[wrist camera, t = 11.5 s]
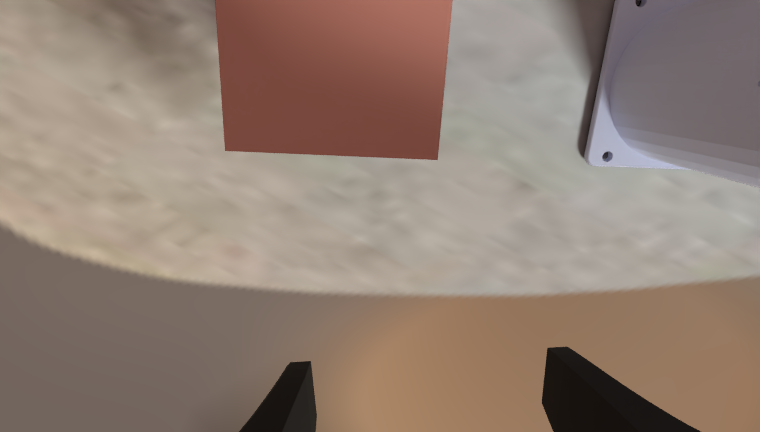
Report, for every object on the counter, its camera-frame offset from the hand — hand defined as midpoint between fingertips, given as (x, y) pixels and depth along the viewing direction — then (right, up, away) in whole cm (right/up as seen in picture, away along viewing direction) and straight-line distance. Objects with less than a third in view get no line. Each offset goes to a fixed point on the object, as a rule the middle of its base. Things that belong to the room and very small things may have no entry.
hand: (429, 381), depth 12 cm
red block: (-3, +10, 0) cm, 10 cm away
